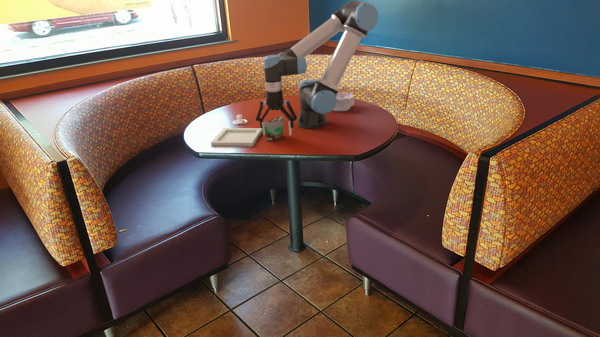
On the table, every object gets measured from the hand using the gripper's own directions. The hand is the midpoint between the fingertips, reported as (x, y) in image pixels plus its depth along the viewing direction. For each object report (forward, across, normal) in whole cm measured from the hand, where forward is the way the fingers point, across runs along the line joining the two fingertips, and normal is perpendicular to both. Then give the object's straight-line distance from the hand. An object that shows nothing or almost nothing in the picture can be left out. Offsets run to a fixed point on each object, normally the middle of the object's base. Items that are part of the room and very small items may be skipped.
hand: (277, 134), depth 216 cm
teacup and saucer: (+3, -28, +24) cm, 37 cm away
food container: (+3, 0, 0) cm, 3 cm away
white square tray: (+2, -20, 0) cm, 20 cm away
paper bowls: (+3, +27, +48) cm, 55 cm away
